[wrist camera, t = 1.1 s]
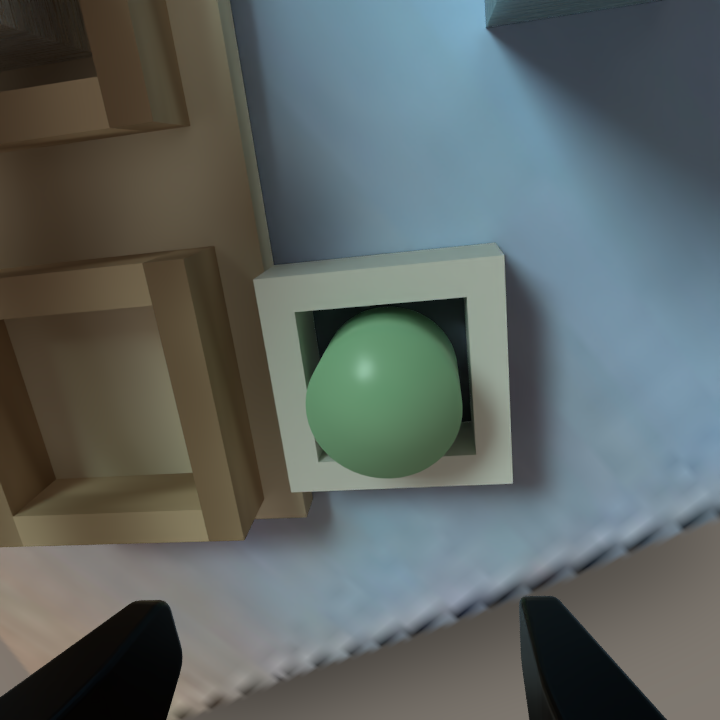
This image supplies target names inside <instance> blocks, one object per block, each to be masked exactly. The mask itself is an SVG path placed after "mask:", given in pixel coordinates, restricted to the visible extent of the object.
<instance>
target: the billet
mask: <svg viewBox="0 0 720 720" xmlns="http://www.w3.org/2000/svg"><path fill="white" fill-rule="evenodd" d="M655 1H661V0H485V15H486V28H488V27H495V26H501V25H507V24H514V23H520V22H527V21H533V20H539V19H546V18H552V17H559V16H565V15H571V14H578V13H584V12H591V11H597V10H603V9H610V8H616V7H623V6H629V5H635V4H642V3H648V2H655Z"/></svg>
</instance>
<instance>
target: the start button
mask: <svg viewBox="0 0 720 720" xmlns="http://www.w3.org/2000/svg"><path fill="white" fill-rule="evenodd" d="M306 415H307V419H308V424H309V426H310V429H311V431H312V433H313V435H314V437H315V439H316V441H317V442H318V444H319V445H320V446H321V448H322V449H323V450H324V451H325V452H326V453H327V454H328V455H329V456H330V457H331V458H332V459H333V460H334V461H336V462H337V463H339V464H340V465H342V466H343V467H345V468H347V469H349V470H351V471H353V472H356V473H358V474H361V475H365V476H369V477H374V478H388V479H391V478H401V477H405V476H410V475H413V474H416V473H418V472H421V471H423V470H425V469H427V468H428V467H430V466H431V465H433V464H434V463H436V462H437V461H438V460H439V459H440V458H442V457H443V456H444V455H445V453H446V452H447V451H448V450H449V449H450V447H451V446H452V444H453V443H454V441H455V439H456V437H457V435H458V432H459V429H460V426H461V421H462V397H461V389H460V381H459V373H458V365H457V358H456V354H455V351H454V348H453V346H452V344H451V342H450V340H449V339H448V337H447V335H446V334H445V333H444V332H443V330H442V329H441V328H440V327H439V326H438V325H437V324H436V323H435V322H433V321H432V320H430V319H429V318H428V317H426V316H424V315H422V314H420V313H418V312H416V311H413V310H410V309H406V308H402V307H393V306H388V307H377V308H372V309H369V310H366V311H363V312H361V313H359V314H357V315H355V316H353V317H352V318H350V319H349V320H348V321H346V322H345V323H344V324H343V325H342V326H341V327H340V328H339V329H338V330H337V332H336V333H335V335H334V336H333V338H332V339H331V341H330V343H329V345H328V347H327V349H326V350H325V352H324V354H323V356H322V358H321V360H320V362H319V363H318V365H317V367H316V369H315V371H314V373H313V375H312V377H311V379H310V382H309V385H308V388H307V393H306Z"/></svg>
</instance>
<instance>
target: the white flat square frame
mask: <svg viewBox="0 0 720 720" xmlns="http://www.w3.org/2000/svg"><path fill="white" fill-rule="evenodd" d="M253 283H254V288H255V294H256V299H257V305H258V310H259V316H260V321H261V327H262V333H263V338H264V344H265V349H266V355H267V360H268V366H269V371H270V377H271V383H272V388H273V394H274V399H275V405H276V410H277V416H278V421H279V427H280V433H281V438H282V444H283V449H284V455H285V460H286V466H287V471H288V477H289V483H290V488H291V492H316V491H341V490H366V489H391V488H416V487H441V486H466V485H491V484H513V472H512V446H511V419H510V393H509V366H508V339H507V313H506V286H505V260H504V254H503V253H502V251H501V250H500V248H499V247H498V246H497V244H496V243H487V244H477V245H467V246H458V247H448V248H438V249H428V250H418V251H408V252H398V253H388V254H378V255H369V256H359V257H349V258H339V259H329V260H319V261H309V262H299V263H289V264H280V265H273V266H272V267H270V268H269V269H268V270H266V271H265V272H263V273H262V274H260V275H259V276H258V277H256V278H255V279H253ZM461 297H464V312H465V328H466V345H467V361H468V377H469V393H470V409H471V421H470V422H461V426H460V429H459V432H458V435H457V437H456V439H455V441H454V443H453V444H452V446H451V447H450V449H449V450H448V451H447V452H446V453H445V455H444V456H443V457H442V458H440V459H439V460H438V461H437V462H436V463H434V464H433V465H431V466H430V467H428V468H427V469H425V470H423V471H421V472H418V473H416V474H413V475H410V476H405V477H401V478H391V479H388V478H374V477H369V476H365V475H361V474H358V473H356V472H353V471H351V470H349V469H347V468H345V467H343V466H342V465H340V464H339V463H337V462H336V461H334V460H333V459H332V458H331V457H330V456H329V455H328V454H327V453H326V452H325V451H324V450H323V449H322V448H321V446H320V445H319V444H318V442H317V441H316V439H315V437H314V435H313V433H312V431H311V429H310V426H309V424H308V419H307V415H306V393H307V388H308V385H309V382H310V379H311V377H312V375H313V373H314V371H315V369H316V367H317V365H318V363H319V362H320V356H319V349H318V342H317V335H316V329H315V322H314V315H313V311H314V310H325V309H336V308H348V307H359V306H370V305H382V304H393V303H404V302H416V301H427V300H438V299H450V298H461Z"/></svg>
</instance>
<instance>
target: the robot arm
mask: <svg viewBox="0 0 720 720" xmlns="http://www.w3.org/2000/svg"><path fill="white" fill-rule="evenodd" d="M519 613H520V640H521V641H520V642H521V660H522V670H523V677H524V684H525V691H526V699H527V706H528V713H529V720H667V719H666V718H665V717H664V716H663V715H662V714H661V713H660V712H659V711H658V710H657V708H656V707H655V706H654V705H653V704H652V703H651V702H650V700H649V699H648V698H647V697H646V696H645V695H644V694H643V693H642V692H641V690H640V689H639V688H638V687H637V686H636V685H635V684H634V683H633V682H632V680H631V679H630V678H629V677H628V676H627V675H626V674H625V673H624V671H623V670H622V669H621V668H620V667H619V666H618V665H617V664H616V663H615V661H614V660H613V659H612V658H611V657H610V656H609V655H608V654H607V653H606V651H605V650H604V649H603V648H602V647H601V646H600V645H599V644H598V643H597V641H596V640H595V639H594V638H593V637H592V636H591V635H590V634H589V633H588V631H587V630H586V629H585V628H584V627H583V626H582V625H581V624H580V623H579V621H578V620H577V619H576V618H575V617H574V616H573V615H572V614H571V612H569V610H568V609H567V608H566V607H565V606H564V605H563V604H562V602H561V601H560V600H558V599H557V598H556V597H553V596H525V597H523V598H521V600H520V605H519ZM181 666H182V648H181V644H180V641H179V637H178V634H177V630H176V626H175V623H174V619H173V616H172V612H171V609H170V607H169V605H168V604H167V603H166V602H164V601H162V600H141V601H135V602H132V603H131V604H129V605H128V606H126V607H125V608H124V609H122V610H121V611H119V612H118V613H117V614H115V615H114V616H112V617H111V618H110V619H108V620H107V621H106V622H104V623H103V624H101V625H100V626H99V627H97V628H96V629H94V630H93V631H92V632H90V633H89V634H87V635H86V636H85V637H83V638H82V639H81V640H79V641H78V642H76V643H75V644H74V645H72V646H71V647H69V648H68V649H67V650H65V651H64V652H62V653H61V654H60V655H58V656H57V657H56V658H54V659H53V660H51V661H50V662H49V663H47V664H46V665H44V666H43V667H42V668H40V669H39V670H37V671H36V672H35V673H33V674H32V675H30V676H29V677H28V678H26V679H25V680H24V681H22V682H21V683H19V684H18V685H17V686H15V687H14V688H13V689H11V690H10V691H8V692H7V693H5V694H4V695H3V696H1V697H0V720H166V719H167V715H168V712H169V709H170V705H171V702H172V698H173V695H174V692H175V688H176V685H177V682H178V678H179V675H180V671H181Z"/></svg>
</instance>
